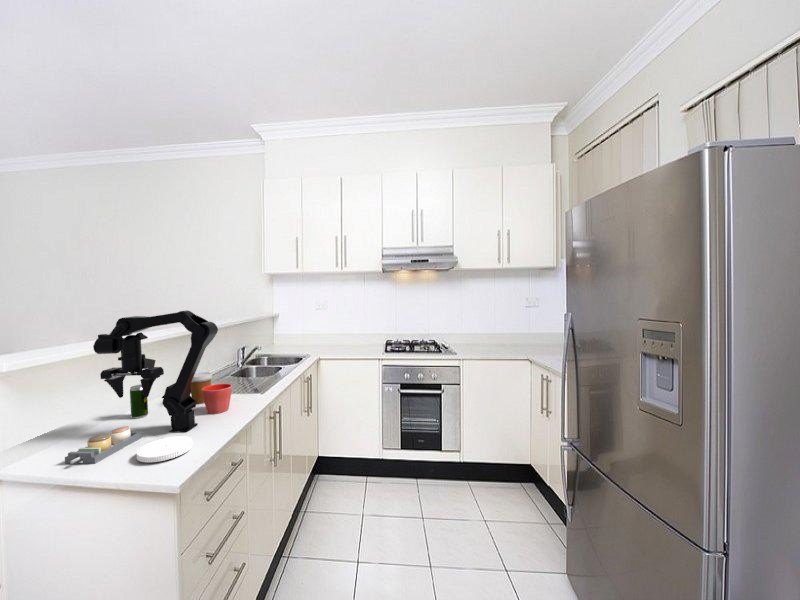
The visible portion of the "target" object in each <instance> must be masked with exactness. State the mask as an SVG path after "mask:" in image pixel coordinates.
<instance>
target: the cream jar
mask: <svg viewBox="0 0 800 600" xmlns="http://www.w3.org/2000/svg"><path fill="white" fill-rule="evenodd" d="M130 431H131V427H130V426H125V425H124V426H121V427H120V426H119V427H116V428H114V429H112V430H111V432H110V435H111V440H112V442H111V445H112V446H114V445H116V444H118V443H120V442H121V441H123V440H125V439H127V438H129V437H131V432H130Z"/></svg>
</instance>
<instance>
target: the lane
mask: <svg viewBox="0 0 800 600" xmlns="http://www.w3.org/2000/svg"><path fill="white" fill-rule="evenodd" d="M130 432H131V437H129V438H127V439H125V440H123V441H121V442H120V443H118V444H116V445H111V447H110V448H108V449H106V450H104V451H102V452H101V453H99V454H97V455H95V456H94V452H78V450H76V451H70V452H67V456H65V457H64V464H68V465H69V464H71V463H70V461H71V460H73V459H75V458H77V457H79V456H80V455H83V458H82V464H83V465H84V464H92V465H93V464H94V465H95V464H97V463H98V462H101V461H102V460H104V459H106V458H108V457H110V456H112V455H114V453H116V452H119V451H120V450H123V449H124V448H125V447H128V446H130V445H131V444H133V443H135V442H137V441H138V440H141V439H142V438H144V436H145V434H144V431H141V430H140V431H137V430H134V431H131V430H130ZM110 436H111V434H110ZM111 443H112V440H111ZM84 448H88V445H86V446H84ZM80 462H81V459H80V460H78V461H76V462H75V463H73V464H79V463H80ZM71 465H72V464H71Z"/></svg>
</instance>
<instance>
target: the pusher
mask: <svg viewBox="0 0 800 600" xmlns="http://www.w3.org/2000/svg"><path fill="white" fill-rule="evenodd" d="M77 449H78V450H77V451H78V452H94V456H95V455H97V454H99V453H101V448H85V447H79V448H77ZM78 460H80V461H81V460H83V455H80V456H79V457H77V458H75V459H73V460H71V461H70V463H71V465H72V464H73V463H75V462H76V461H78Z"/></svg>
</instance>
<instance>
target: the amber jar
mask: <svg viewBox="0 0 800 600" xmlns="http://www.w3.org/2000/svg"><path fill="white" fill-rule="evenodd" d="M110 435H111V433H99V434H96V435H92V436H91V437H89V438H88V440H87V445H86V446H88V448H101V452H102V451H104V450H106V449H108V448H110V447H112V442H111V436H110Z"/></svg>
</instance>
